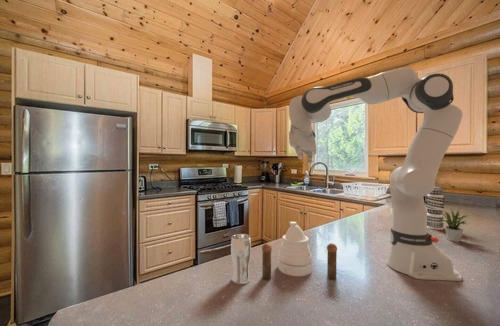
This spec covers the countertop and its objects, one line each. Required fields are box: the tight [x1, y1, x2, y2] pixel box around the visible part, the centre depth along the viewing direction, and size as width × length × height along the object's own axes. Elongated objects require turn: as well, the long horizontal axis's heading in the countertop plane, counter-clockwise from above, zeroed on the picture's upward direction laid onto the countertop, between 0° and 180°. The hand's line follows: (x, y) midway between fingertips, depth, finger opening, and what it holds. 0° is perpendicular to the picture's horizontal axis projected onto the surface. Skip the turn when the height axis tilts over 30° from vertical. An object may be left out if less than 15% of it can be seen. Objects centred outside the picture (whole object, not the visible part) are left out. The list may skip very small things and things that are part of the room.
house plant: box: [440, 208, 470, 243], centre depth 121 cm, size 14×14×16 cm
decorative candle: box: [425, 186, 445, 231], centre depth 144 cm, size 9×9×25 cm
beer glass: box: [230, 233, 252, 285], centre depth 81 cm, size 7×7×15 cm
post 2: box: [326, 242, 338, 280], centre depth 83 cm, size 3×3×12 cm
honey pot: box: [277, 221, 313, 277], centre depth 91 cm, size 13×13×18 cm
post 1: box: [261, 243, 272, 281], centre depth 83 cm, size 3×3×12 cm
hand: (305, 160), depth 101 cm, fingers open, 8 cm apart
